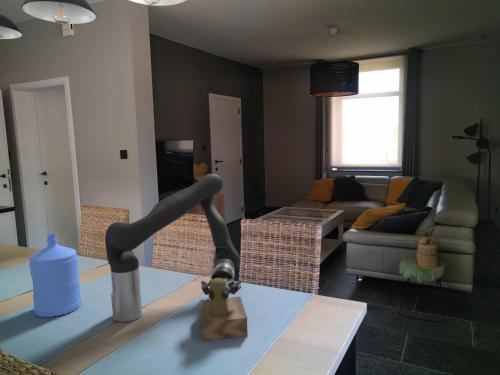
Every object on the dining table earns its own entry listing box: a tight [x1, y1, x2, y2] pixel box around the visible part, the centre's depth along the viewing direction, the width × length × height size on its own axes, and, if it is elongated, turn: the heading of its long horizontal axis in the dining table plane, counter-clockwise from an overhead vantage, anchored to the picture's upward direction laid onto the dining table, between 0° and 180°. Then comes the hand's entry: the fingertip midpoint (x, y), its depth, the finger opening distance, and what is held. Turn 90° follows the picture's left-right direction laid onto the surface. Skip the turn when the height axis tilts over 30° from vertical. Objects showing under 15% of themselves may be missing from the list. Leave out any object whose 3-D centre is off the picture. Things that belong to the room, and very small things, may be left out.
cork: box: [208, 278, 228, 317], centre depth 116 cm, size 6×6×11 cm
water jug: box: [28, 233, 83, 318], centre depth 136 cm, size 16×16×28 cm
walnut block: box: [199, 296, 249, 342], centre depth 120 cm, size 14×16×6 cm
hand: (218, 296), depth 113 cm, fingers closed on cork, 3 cm apart
